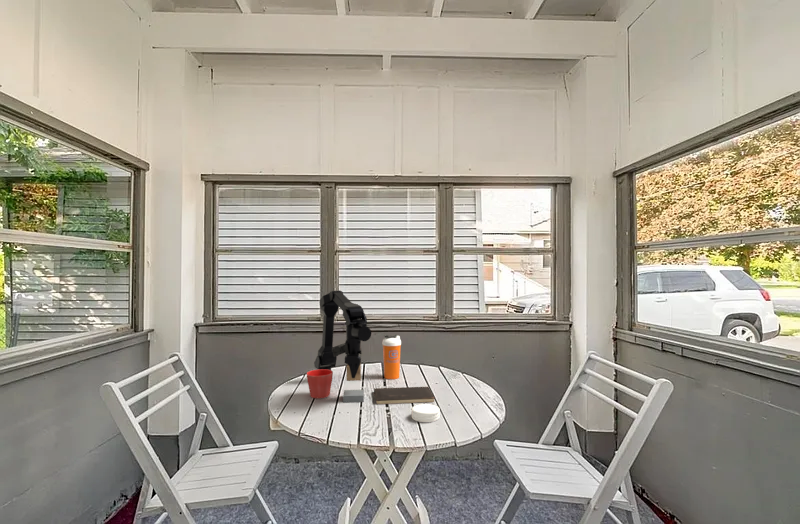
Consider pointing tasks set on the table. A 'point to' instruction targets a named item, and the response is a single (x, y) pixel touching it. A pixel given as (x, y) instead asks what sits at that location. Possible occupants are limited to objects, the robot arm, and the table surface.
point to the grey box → (353, 396)
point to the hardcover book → (403, 395)
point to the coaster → (425, 413)
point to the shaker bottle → (391, 356)
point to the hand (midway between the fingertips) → (353, 376)
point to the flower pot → (319, 383)
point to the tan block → (358, 375)
